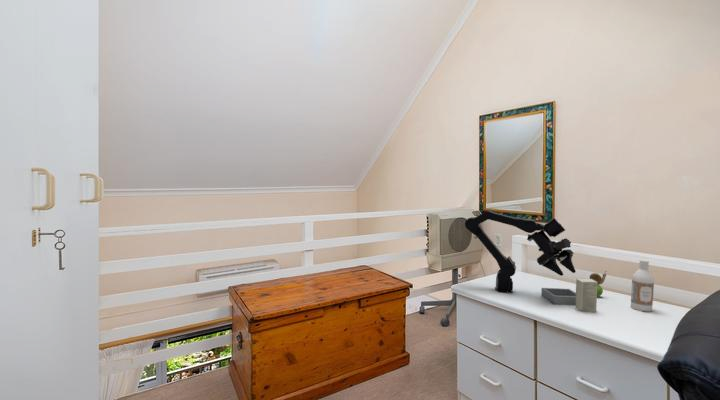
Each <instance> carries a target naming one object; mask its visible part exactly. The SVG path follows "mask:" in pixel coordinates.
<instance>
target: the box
mask: <svg viewBox="0 0 720 400" xmlns="http://www.w3.org/2000/svg"><path fill="white" fill-rule="evenodd" d="M540 293H541V295H540V296H542V297H543V298H544V299H545V300H547V301H548V302H550V303H551V304H552V305H555V306H575V301H576V291H574V290H572V289H571V288H557V287H555V288H554V287H552V288H551V287H541V292H540Z"/></svg>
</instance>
